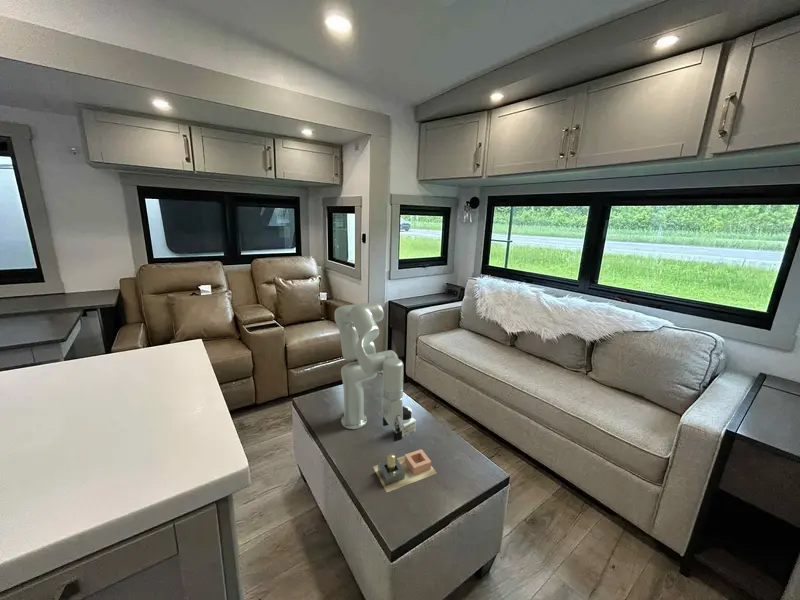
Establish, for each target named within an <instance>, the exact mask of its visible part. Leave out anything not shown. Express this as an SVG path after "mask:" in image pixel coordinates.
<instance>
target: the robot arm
mask: <svg viewBox="0 0 800 600" xmlns="http://www.w3.org/2000/svg"><path fill="white" fill-rule="evenodd" d="M384 315H385V312H384V309H383V307H382V305H381V304H380V303H378V302H363V303H354V304H346V305H341V306H339V307H337V308H336V309H335V310H334V322H335V324H336V326H337V329H338V330H339V336H340V344H341V352H342V353H341V355H342V358H343V359H344V360H345V361H348V362H349V363H347V364H345V365H343V366H342V367H341V369H340V376H341V380H342V385H343V386H342V388H343V412H344V413H343V414H344V415H343V416H342V418H341V420H340V422H341V423H340V424H341V425H342V426H343V427H344V428H345V429H348V430H358V429H361V428H362V427H364V426H366V424H367V422H368V419H367V418H368V417H367V416H366V415H365V414H364V413H365V411H364V405H365V404H364V401H365V399H364V388H363V386H362V384H361V383H362V382H365V381H368V380H372V379H375V378H376V377H377V376H378V374H380V373H381V374H382V377H381V378H382V381H381V383H382V385H381V388H382V392H381V393H382V395H381V400H380V401H381V402H380V403H381V404H380V413H381V415H382V425H383V427H386V426H390V427H394V432H393V442H397V441H401V440H402V439H403V437H402V431H403V429H404V424H403V422H402V421H403V397H404V363H403V361H402V359H399V357H398V354H397V353H396V352H395V351H394V350H391V349H389V350H384V351H379V352H376V345H375V342H374V341H375V340H376V339H377V338H378V337H379V335H380V328H379V326H378V324H377V322H382V320H383V319H384ZM356 360H357V361H356ZM350 361H352V362H350ZM353 361H354V362H353ZM360 382H361V383H360ZM396 421H397V422H398V423H396ZM398 424H399V428H396V425H398Z"/></svg>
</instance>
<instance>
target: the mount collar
mask: <svg viewBox="0 0 800 600" xmlns="http://www.w3.org/2000/svg"><path fill="white" fill-rule="evenodd" d="M397 458H398V457H395V471H393V472H390V473H388V472H387V460H385V461H381V462H379V463H377V465H378V472H379V474H380V476H381V478H382V479H383V481H384V483H385V485H389V484H392V483H394V482H397V481H400V480H403V479H405V471H404V469H403V468H402V466H401V465H400V463H399V461H398V460H397Z"/></svg>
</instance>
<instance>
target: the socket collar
mask: <svg viewBox="0 0 800 600" xmlns="http://www.w3.org/2000/svg"><path fill="white" fill-rule="evenodd" d="M404 456H405V463H406V465H407V466H408V468H409V469H410V471H411V472H412V474H413V475H416V474H419V473H421V472H424V471H427V470H429V469H431V466H432V460H431V459H430V458H429V457H428V455H427V454H426V453H425V451H424V450H423V449H422V448H420V449H418V450H415V451H412V452H408V453H405V454H404ZM418 460H420V461H421V462H419V463H415V461H418Z"/></svg>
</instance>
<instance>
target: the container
mask: <svg viewBox="0 0 800 600" xmlns="http://www.w3.org/2000/svg"><path fill="white" fill-rule="evenodd" d="M402 406H403V405H402ZM402 422H403V424H404V429H403V431H402V439H405V438H406V437H407V436H409V435H412V434H413V433H415V432H416V431H417V429H416V427H417V419H415V418H414V417H413V409H412V408H411V407H409V406H405V405H404V406H403V421H402ZM396 423H398V422H397V421H396ZM392 427H393V426H392ZM396 428H399V424H398V425H396ZM392 429H393V430H392V431H393V433H394V427H393V428H392Z"/></svg>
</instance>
